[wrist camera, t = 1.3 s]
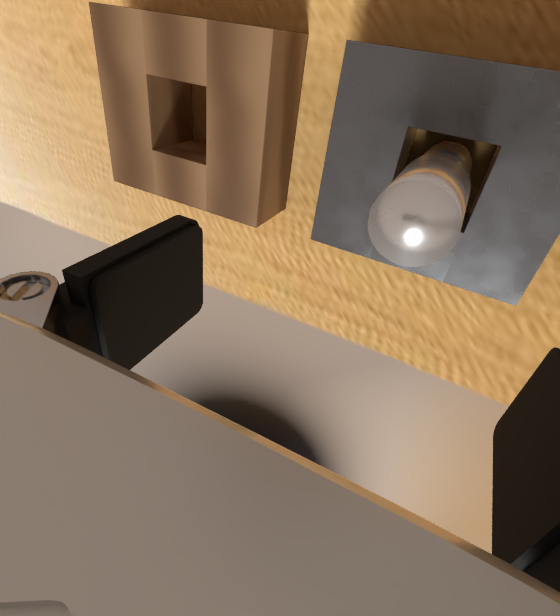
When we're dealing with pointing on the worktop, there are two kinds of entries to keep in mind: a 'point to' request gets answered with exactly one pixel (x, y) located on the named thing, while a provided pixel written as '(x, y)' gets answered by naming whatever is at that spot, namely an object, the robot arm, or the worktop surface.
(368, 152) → the socket block
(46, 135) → the worktop surface
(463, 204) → the stepped metal peg
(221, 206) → the block
